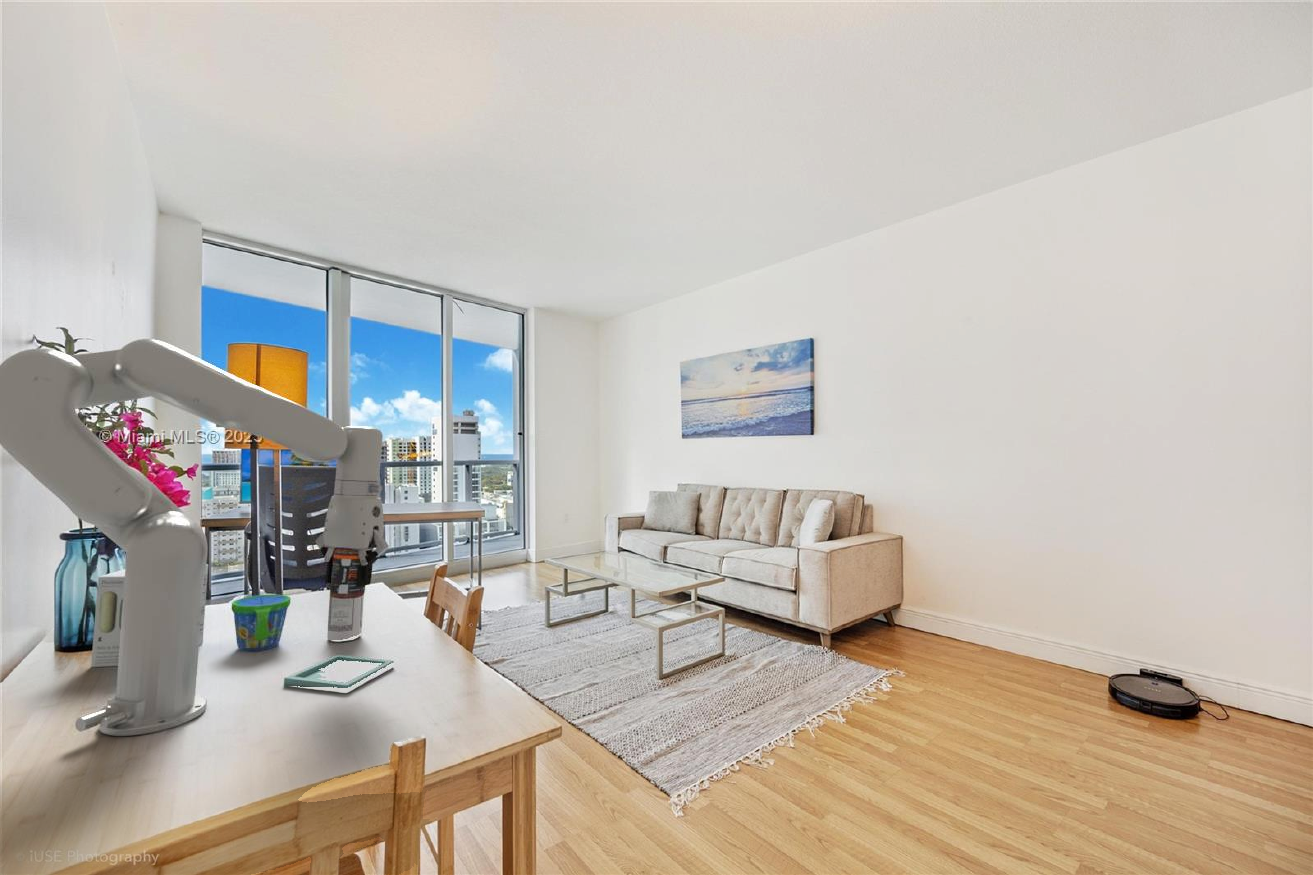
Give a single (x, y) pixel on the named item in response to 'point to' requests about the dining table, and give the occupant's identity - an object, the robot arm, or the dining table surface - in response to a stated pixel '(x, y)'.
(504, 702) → the dining table surface
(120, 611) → the supplement box
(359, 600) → the bath foam
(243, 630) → the snack cup
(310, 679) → the tray
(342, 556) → the supplement bottle
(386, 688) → the dining table surface
